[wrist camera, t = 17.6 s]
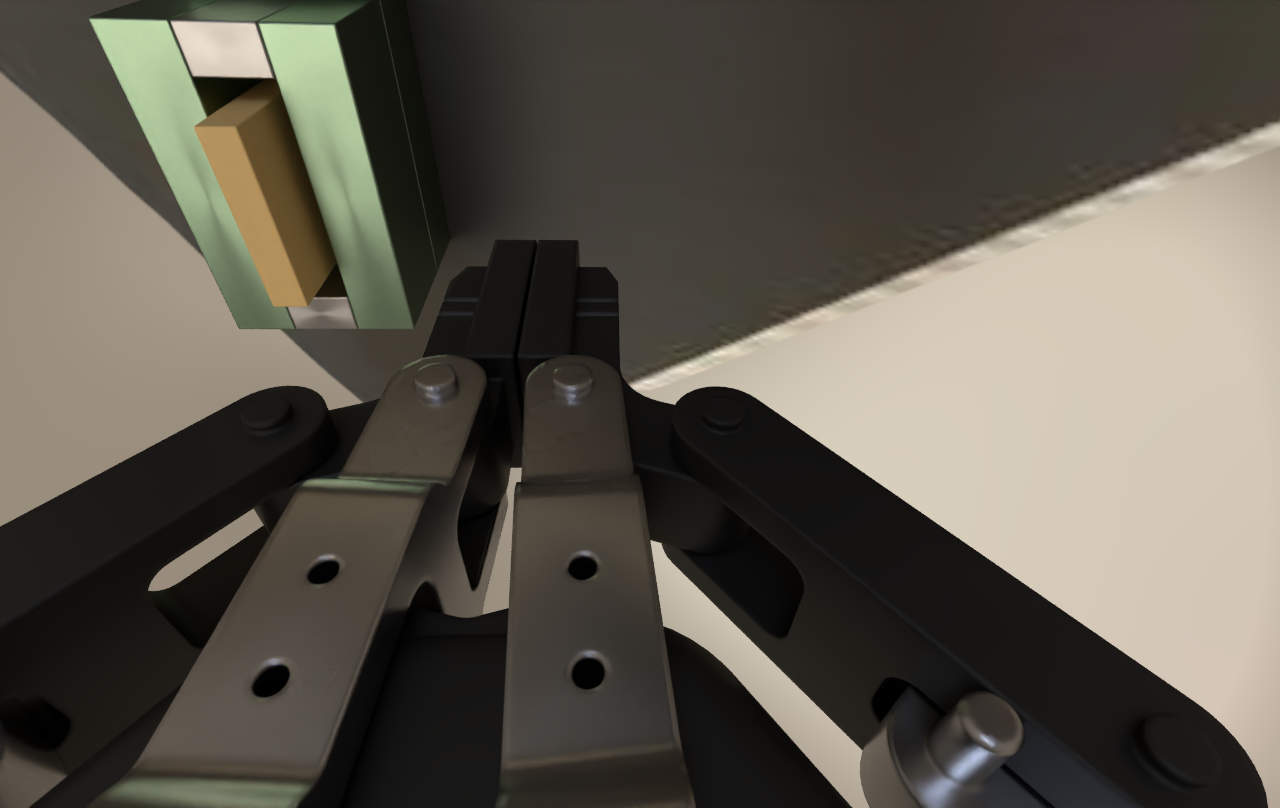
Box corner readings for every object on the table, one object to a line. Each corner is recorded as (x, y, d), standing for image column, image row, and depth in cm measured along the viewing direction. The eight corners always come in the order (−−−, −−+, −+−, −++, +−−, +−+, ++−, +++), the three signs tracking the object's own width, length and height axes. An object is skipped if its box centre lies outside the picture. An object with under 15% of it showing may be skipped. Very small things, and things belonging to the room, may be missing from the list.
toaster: (214, -25, 30) (86, 17, 23) (401, -19, 31) (335, 23, 23) (308, 239, 40) (238, 329, 32) (450, 240, 40) (414, 330, 33)
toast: (281, 66, 30) (191, 126, 23) (315, 67, 30) (235, 126, 23) (333, 224, 35) (273, 307, 29) (362, 224, 35) (308, 307, 29)
